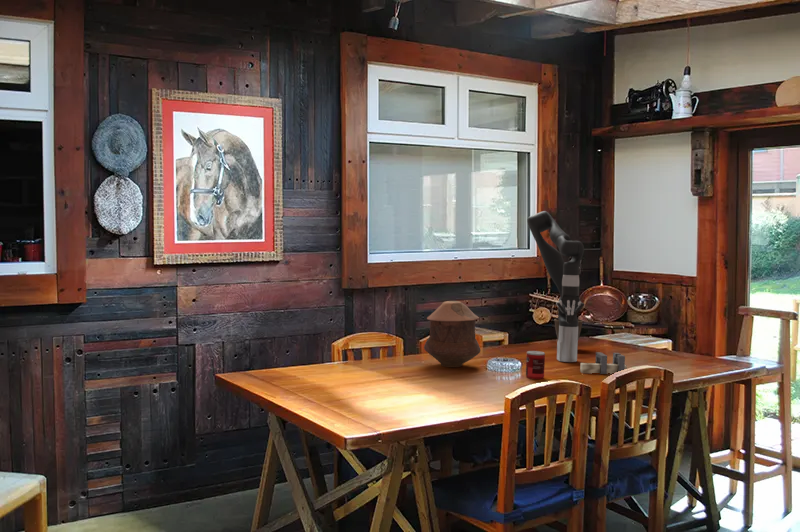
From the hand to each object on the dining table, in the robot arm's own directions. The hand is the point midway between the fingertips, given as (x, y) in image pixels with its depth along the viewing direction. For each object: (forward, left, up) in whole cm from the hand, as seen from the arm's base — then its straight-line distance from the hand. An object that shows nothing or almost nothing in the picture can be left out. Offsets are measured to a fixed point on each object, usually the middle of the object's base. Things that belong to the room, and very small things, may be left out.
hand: (569, 323), depth 350 cm
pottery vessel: (-52, +8, -22) cm, 57 cm away
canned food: (-18, -15, -22) cm, 32 cm away
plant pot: (+16, +67, -22) cm, 72 cm away
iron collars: (+19, 0, -22) cm, 29 cm away
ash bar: (+16, -1, -22) cm, 28 cm away
